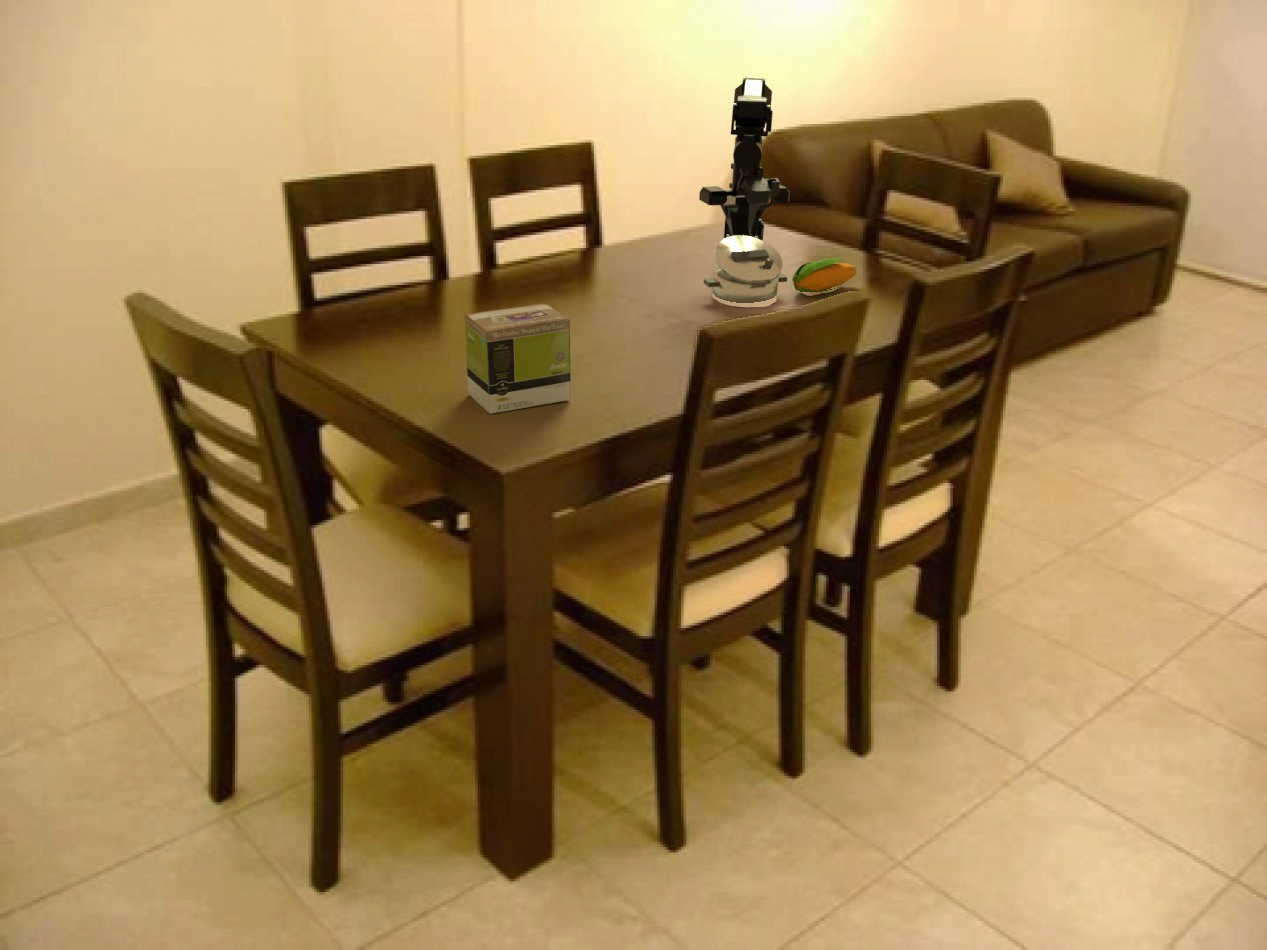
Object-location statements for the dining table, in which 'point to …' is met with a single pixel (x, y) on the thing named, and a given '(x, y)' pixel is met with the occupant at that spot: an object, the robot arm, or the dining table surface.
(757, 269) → the lid
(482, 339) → the tea box
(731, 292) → the pot
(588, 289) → the dining table surface
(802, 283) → the corn
